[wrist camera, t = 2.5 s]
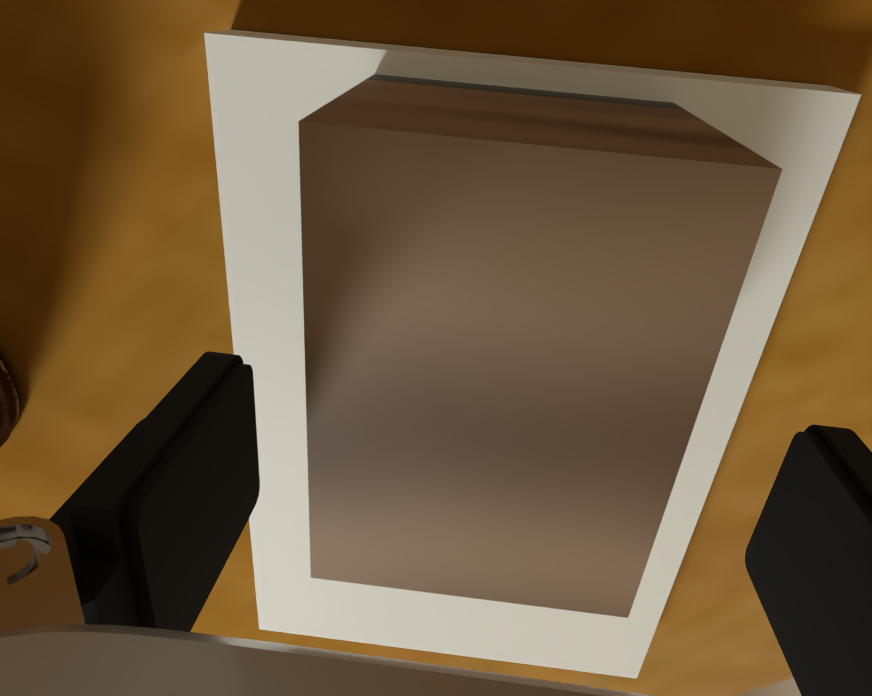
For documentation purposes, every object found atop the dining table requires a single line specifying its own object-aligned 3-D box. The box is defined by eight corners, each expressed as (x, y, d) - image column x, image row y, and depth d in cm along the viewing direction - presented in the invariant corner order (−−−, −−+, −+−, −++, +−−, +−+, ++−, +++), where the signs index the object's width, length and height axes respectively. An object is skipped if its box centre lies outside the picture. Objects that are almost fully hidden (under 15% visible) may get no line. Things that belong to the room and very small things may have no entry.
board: (229, 29, 15) (203, 32, 14) (828, 85, 15) (862, 94, 13) (271, 595, 25) (259, 629, 24) (629, 641, 24) (636, 679, 23)
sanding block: (374, 73, 14) (298, 121, 9) (673, 102, 14) (782, 168, 8) (364, 411, 18) (310, 577, 13) (590, 437, 18) (628, 617, 13)
